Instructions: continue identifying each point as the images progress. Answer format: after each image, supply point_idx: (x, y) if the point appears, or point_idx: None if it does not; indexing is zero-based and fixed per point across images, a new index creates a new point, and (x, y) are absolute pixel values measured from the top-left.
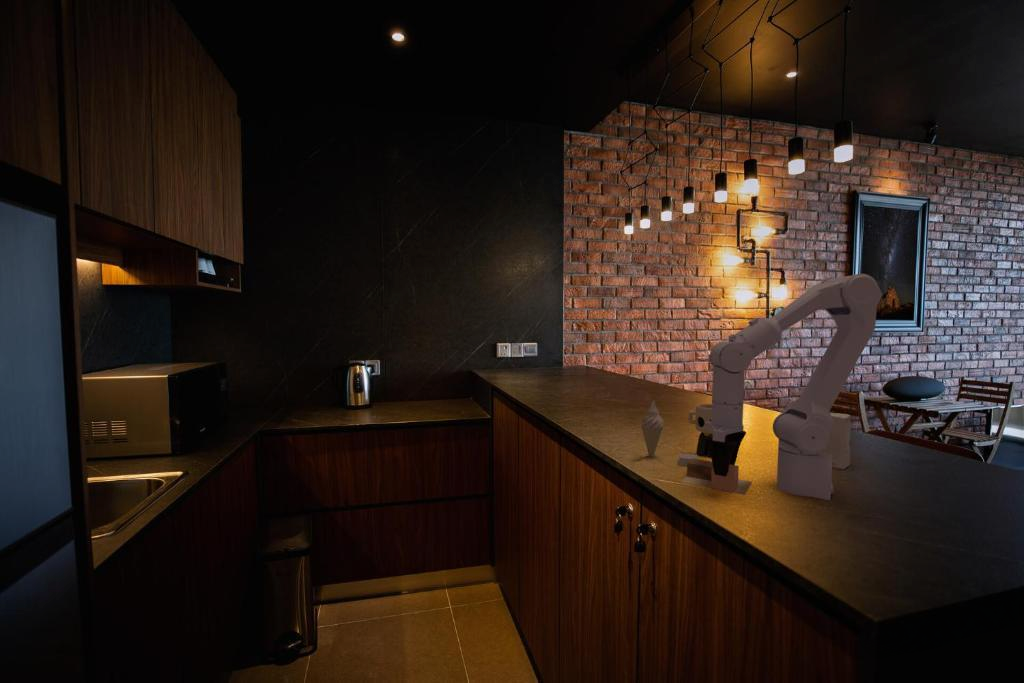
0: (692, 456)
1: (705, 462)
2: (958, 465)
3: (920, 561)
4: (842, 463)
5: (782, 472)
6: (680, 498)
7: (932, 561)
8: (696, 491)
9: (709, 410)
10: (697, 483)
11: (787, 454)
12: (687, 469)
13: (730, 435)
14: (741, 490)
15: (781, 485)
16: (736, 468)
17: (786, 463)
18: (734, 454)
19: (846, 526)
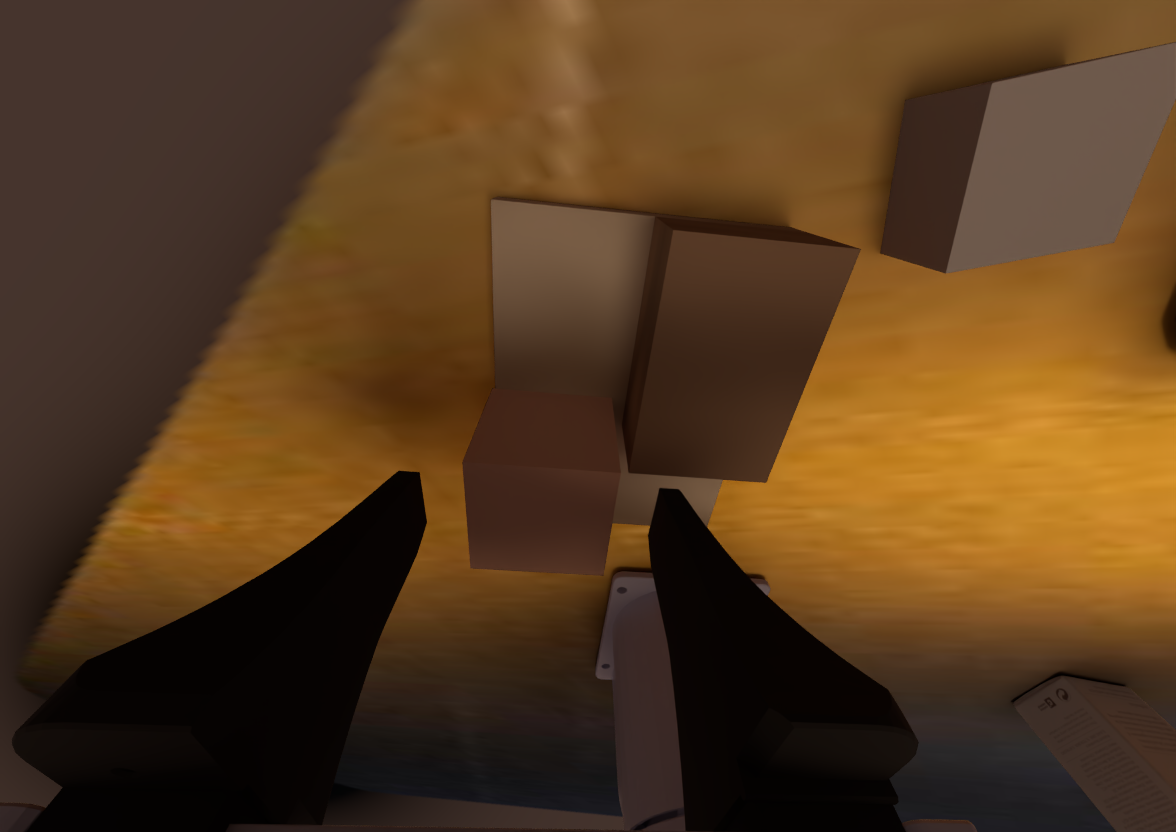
0: (1053, 207)
1: (754, 364)
2: (1068, 824)
3: (360, 741)
4: (1031, 724)
5: (648, 680)
6: (288, 238)
7: (378, 750)
8: (477, 304)
9: None
10: (530, 310)
11: (643, 805)
12: (661, 226)
13: (710, 764)
14: None
15: (641, 622)
16: (537, 571)
17: (639, 743)
18: (663, 608)
19: (462, 684)
